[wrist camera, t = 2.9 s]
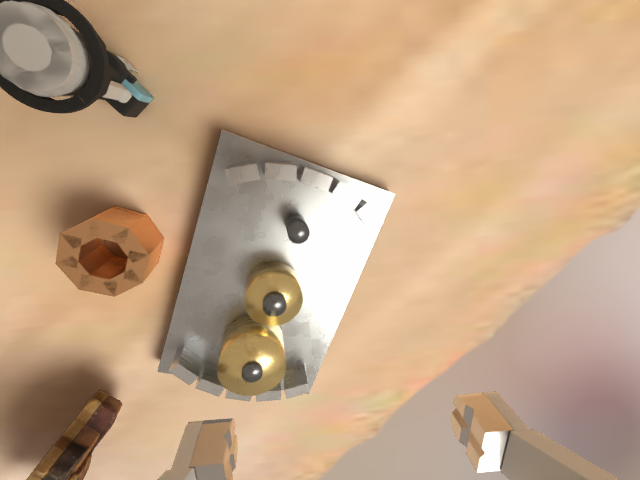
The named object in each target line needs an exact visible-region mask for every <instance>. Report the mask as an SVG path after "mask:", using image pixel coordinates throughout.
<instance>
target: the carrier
mask: <svg viewBox="0 0 640 480" xmlns="http://www.w3.org/2000/svg"><path fill="white" fill-rule="evenodd" d="M394 196H395V194H394V193H392V192H390V191H387V190H385V189H382V188H379V187H376V186H374V185H371V184H368V183H366V182H363V181H360V180H358V179H355V178H352V177H350V176H347V175H344V174H342V173H339V172H336V171H333V170H331V169H328V168H325V167H323V166H320V165H317V164H315V163H312V162H309V161H307V160H304V159H301V158H298V157H296V156H293V155H290V154H288V153H285V152H282V151H280V150H277V149H274V148H272V147H269V146H266V145H264V144H261V143H258V142H255V141H253V140H250V139H247V138H245V137H242V136H239V135H237V134H234V133H231V132H229V131H226V130H222V131H221V135H220V139H219V142H218V146H217V150H216V154H215V157H214V161H213V165H212V169H211V172H210V176H209V180H208V184H207V187H206V191H205V195H204V199H203V202H202V206H201V210H200V214H199V218H198V221H197V225H196V229H195V233H194V236H193V240H192V244H191V248H190V251H189V255H188V259H187V263H186V266H185V270H184V274H183V278H182V282H181V285H180V289H179V293H178V297H177V300H176V304H175V308H174V312H173V315H172V319H171V323H170V327H169V330H168V334H167V338H166V342H165V345H164V349H163V353H162V357H161V361H160V364H159V368H158V372H163V373H170V374H173V375H175V376H176V377H178V378H179V379H181V380H182V381H184V382H185V383H187V384H188V385H190V384H191V383H193V382H194V381H195V380H196V379H197V378H198V380H197V384H196V389H199V390H202V391H205V392H207V393H210V394H213V395H216V396H218V397H219V396H220V394H221V393H222V391H223V390H224V389H225V388H226V396H225V398H228V399H236V400H243V401H250V399H251V396H253V395H256V402H257V401H270V400H281V390H285V394H286V397H287V398H291V397H295V396H298V395H302V394H305V393H307V394H309V392H310V389H311V387H312V385H313V382H314V380H315V378H316V375H317V373H318V371H319V368H320V366H321V364H322V361H323V359H324V357H325V355H326V352H327V350H328V348H329V345H330V343H331V341H332V338H333V336H334V334H335V332H336V329H337V327H338V325H339V322H340V320H341V318H342V315H343V313H344V311H345V308H346V306H347V304H348V302H349V299H350V297H351V295H352V292H353V290H354V288H355V285H356V283H357V281H358V278H359V276H360V274H361V272H362V269H363V267H364V265H365V262H366V260H367V258H368V255H369V253H370V251H371V249H372V246H373V244H374V242H375V239H376V237H377V235H378V232H379V230H380V228H381V225H382V224H383V221H384V219H385V216H386V214H387V212H388V209H389V207H390V205H391V202H392V200H393V198H394Z"/></svg>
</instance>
